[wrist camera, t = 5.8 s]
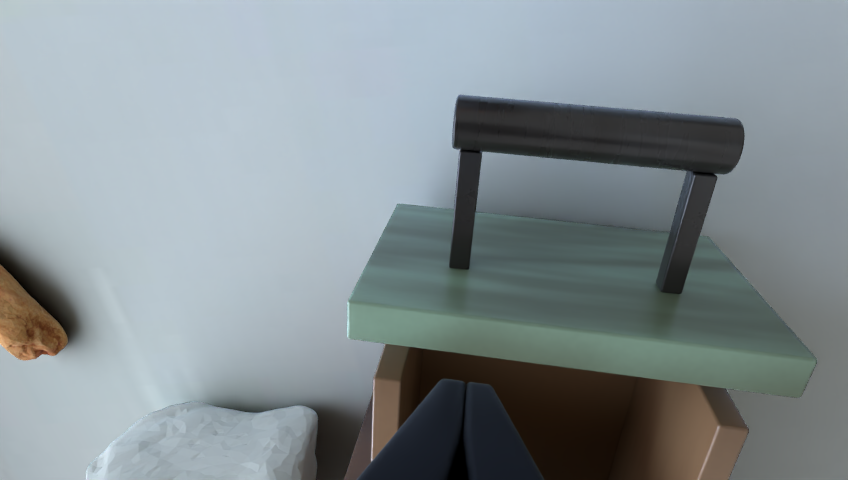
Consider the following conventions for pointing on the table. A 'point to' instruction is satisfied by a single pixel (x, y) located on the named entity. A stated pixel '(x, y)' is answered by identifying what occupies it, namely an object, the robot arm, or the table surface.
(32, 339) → the tan elongated piece
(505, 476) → the robot arm
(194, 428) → the decorative stone
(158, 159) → the table surface
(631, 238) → the drawer
